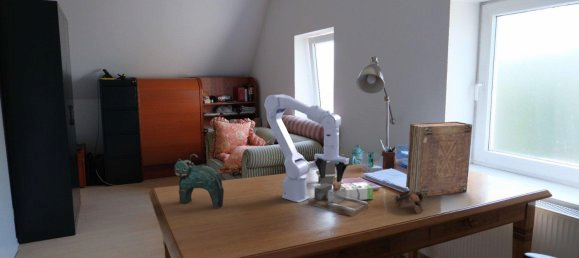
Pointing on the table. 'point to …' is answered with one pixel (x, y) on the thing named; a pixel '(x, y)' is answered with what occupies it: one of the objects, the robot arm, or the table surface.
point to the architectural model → (328, 174)
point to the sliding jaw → (336, 192)
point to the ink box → (358, 190)
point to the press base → (345, 206)
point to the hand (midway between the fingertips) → (330, 179)
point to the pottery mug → (406, 198)
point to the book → (438, 157)
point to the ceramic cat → (198, 181)
